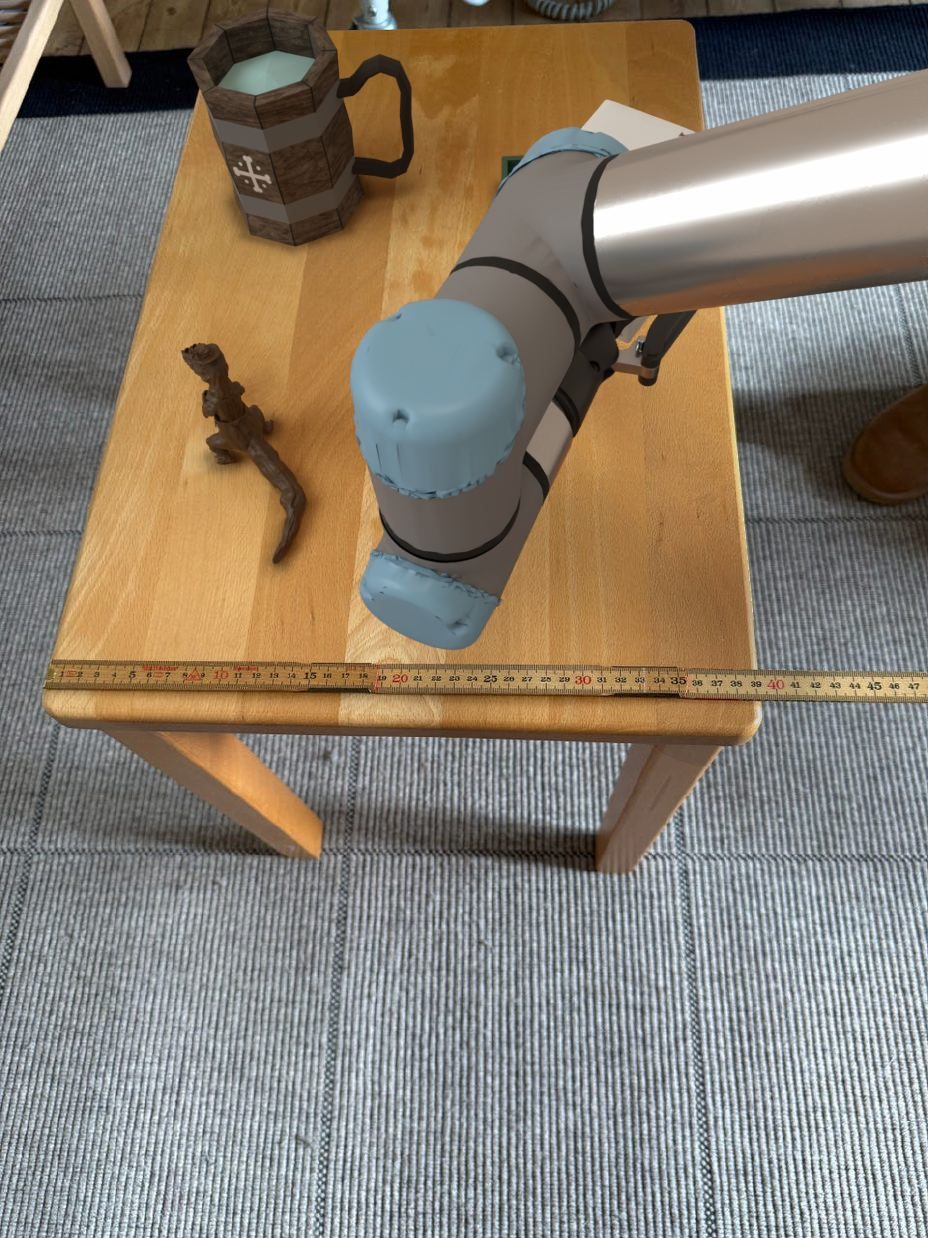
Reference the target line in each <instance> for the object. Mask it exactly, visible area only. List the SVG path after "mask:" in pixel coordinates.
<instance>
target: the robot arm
mask: <svg viewBox="0 0 928 1238" xmlns="http://www.w3.org/2000/svg"><path fill="white" fill-rule="evenodd" d="M581 128H582V127H579V126H567V127H563V128H559V129H556V130H553V131H550V132H549V133H547V134H545V135H543V136H541V137H540V138H539V139H538V140H537V141H535V142H534V143H533V144H532V145H531V146H530V148H529V149H528V150H527V152H525V156H524V157H523V159H522V160H521V161H520V163H519V164H518V165H517V166H516V167H514V169H513V170H512V172H511V173H510V174H509V176H508V177H506V178H505V179H503V181H502V183H501V182H500V184H499V186H498V188H497V190H496V192H495V194H494V196H493V198H492V201H491V204H490V206H489V208H487V210H486V212H485V214H484V216H483V217H482V219H481V221H480V222H479V224H478V226H477V227H476V228H475V230H474V232H473V234H472V236H471V237H470V239H469V241H468V242H467V244H466V246H465V247H464V249H463V251H462V252H461V254H460V256H459V258H458V259H457V261H456V262H455V264H454V265H453V267H452V269H451V271H450V272H449V274H448V276H447V277H446V279H445V280H444V281H443V283H442V284H441V286H440V287H439V289H438V290H437V292H436V294H435V295H434V297H433V298H426V299H421V300H416V301H412V302H409V303H406V304H404V305H402V306H401V307H399V309H398V310H397V311H396V312H395V313H394V314H392V315H390V316H388V317H387V318H385V319H384V320H381V319H380V320H377V322H375V323H374V324H373V325H372V326H371V327H370V328H369V329H368V330H367V332H366V333H365V334H364V335H363V336H362V338H361V340H360V342H359V343H358V345H357V347H356V350H355V352H354V354H353V357H352V361H351V365H350V375H349V386H350V391H351V399H352V403H353V410H354V415H353V416H352V417H353V422H354V425H355V437H356V442H357V445H358V447H359V450H360V453H361V455H362V457H363V460H364V461H365V463H366V466H367V470H368V473H369V477H370V481H371V484H372V489H373V491H374V496H375V499H376V502H377V506H378V507H377V510H378V516H379V521H380V524H381V527H382V531H383V532H382V536H381V538H380V540H379V542H378V543H377V546H376V547H375V549H371V550H370V552H369V560H368V562H367V564H366V566H365V569H364V572H363V574H362V576H361V579H360V581H359V586H358V591H359V596H360V598H361V601H362V603H363V605H364V606H365V607H366V609H367V610H368V611H369V613H371V614H372V615H373V616H374V617H375V618H376V619H377V620H379V621H380V622H381V623H383V624H384V625H386V626H387V627H388V628H389V629H391V630H393V631H395V632H396V633H398V634H400V635H402V636H404V637H406V638H408V639H410V640H412V641H415V642H418V643H420V644H423V645H426V646H428V647H431V648H436V649H439V650H447V651H457V650H464V649H467V648H469V647H471V646H472V645H474V644H475V643H476V642H477V641H478V640H479V639H480V637H481V635H482V634H483V631H484V630H485V627H486V626H487V624H488V622H489V621H490V620H491V617H492V616H493V613H494V612H495V610H496V608H497V607H498V608H499V607H500V606H501V604H502V602H503V599H502V596H503V593H504V591H505V588H506V586H507V584H508V582H509V580H510V578H511V575H512V574H513V570H514V569H515V566H516V565H517V562H518V560H519V557H520V555H521V554H522V551H523V549H524V547H525V545H526V543H527V540H528V538H529V537H530V534H531V531H532V530H533V528H534V525H535V523H536V521H537V520H538V519H537V518H538V517H539V514H540V512H541V510H542V507H543V506H544V504H545V501H546V499H548V498H547V497H548V495H549V493H550V491H551V489H552V487H553V485H554V483H555V480H556V479H557V476H558V475H559V473H560V471H561V469H562V467H563V464H564V462H565V460H566V458H567V456H568V454H569V452H570V450H571V448H572V444H573V442H574V439H575V438H576V436H577V435H578V433H579V431H580V429H581V427H582V425H583V423H584V421H585V418H586V416H587V415H588V412H589V410H590V407H591V406H592V405H593V404H592V403H593V401H594V400H595V397H596V395H597V393H598V391H599V389H600V387H601V385H602V384H603V383H604V382H605V381H607V380H608V379H610V378H611V377H612V376H614V375H615V373H621V374H628V375H635V376H637V381H638V383H639V384H640V385H641V386H644V387H652V386H654V385H655V384H656V383H657V381H658V377H659V372H660V368H661V363H662V360H663V358H664V357H665V355H666V354H667V353H668V351H669V350H670V349H671V347H672V346H673V345H674V343H675V342H676V341H677V340H678V338H679V336H680V335H681V334H682V332H683V331H684V330H685V328H686V327H687V326H688V325H689V323H690V321H691V320H692V319H693V318H694V316H695V315H696V313H697V312H698V310H705V309H713V308H721V307H729V306H738V305H744V304H752V303H761V302H768V301H776V300H783V299H784V300H785V299H791V298H800V297H807V296H815V295H825V294H831V293H832V294H833V293H839V292H847V291H854V290H862V289H870V288H878V287H886V286H895V285H901V284H902V285H903V284H910V283H918V282H926V281H928V68H924V69H921V70H916V71H914V72H911V73H907V74H902V75H899V76H896V77H892V78H888V79H884V80H882V81H881V80H880V81H877V82H874V83H871V84H867V85H862V86H860V87H856V88H852V89H849V90H844V91H841V92H837V93H834V94H831V95H827V96H823V97H819V98H815V99H813V100H809V101H805V102H802V103H798V104H794V105H791V106H787V107H783V108H779V109H776V110H773V111H769V112H765V113H761V114H759V115H754V116H751V117H747V118H743V119H740V120H737V121H736V120H735V121H732V122H729V123H726V124H722V125H718V126H714V127H710V128H708V129H703V130H700V131H695V132H696V133H692V134H689V135H685V136H681V137H678V138H674V139H671V140H667V141H663V142H660V143H656V144H652V145H649V146H645V147H642V148H638V149H634V150H631V151H629V150H628V149H627V148H626V147H625V146H624V145H623V144H622V143H620V142H619V141H618V140H616V139H615V138H613V137H612V136H609V135H607V134H605V133H602V132H597V133H594V132H590V131H586V130H581ZM643 316H649V317H651V316H655V318H654V319H653V321H652V322H651V323H650V326H649V327H648V330H647V332H646V335H642V334H641V335H639V336H638V337H637V339H636V340H634V341H632V343H631V345H630V346H629V347H628V348H626V349H625V348H624V349H620V348H619V345H618V343H617V340H618V339H617V338H618V337H619V336H620V334H621V333H622V331H623V329H624V328H625V327H626V326H627V325H629V324H630V323H631V322H632V321H634V320H635V319H636V318H639V317H643Z"/></svg>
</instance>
